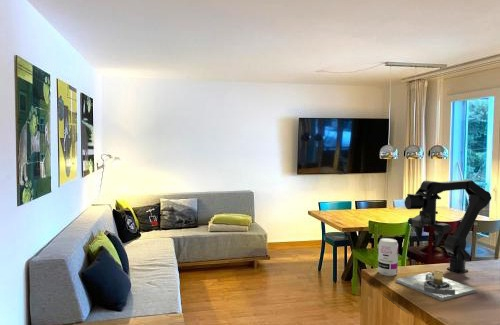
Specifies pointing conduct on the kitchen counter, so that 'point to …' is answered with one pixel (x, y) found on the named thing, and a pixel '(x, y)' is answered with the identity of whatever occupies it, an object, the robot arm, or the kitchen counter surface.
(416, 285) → the carrier
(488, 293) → the kitchen counter surface
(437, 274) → the gear
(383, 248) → the supplement can
